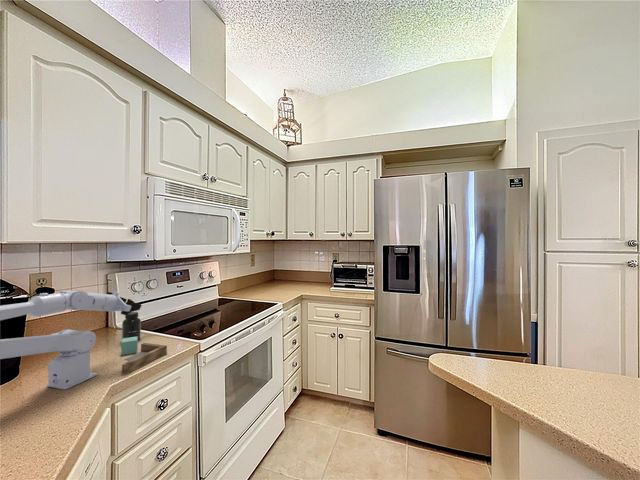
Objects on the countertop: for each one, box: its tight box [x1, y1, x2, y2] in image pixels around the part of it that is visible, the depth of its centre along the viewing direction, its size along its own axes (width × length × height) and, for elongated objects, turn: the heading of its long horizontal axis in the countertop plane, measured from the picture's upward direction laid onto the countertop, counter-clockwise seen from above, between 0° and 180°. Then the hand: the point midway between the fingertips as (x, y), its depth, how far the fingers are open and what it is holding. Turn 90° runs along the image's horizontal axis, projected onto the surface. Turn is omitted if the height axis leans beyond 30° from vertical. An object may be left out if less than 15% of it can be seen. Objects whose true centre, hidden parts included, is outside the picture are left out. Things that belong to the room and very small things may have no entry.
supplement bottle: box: [121, 311, 142, 341], centre depth 124 cm, size 7×7×12 cm
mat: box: [124, 351, 147, 361], centre depth 106 cm, size 7×7×1 cm
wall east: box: [140, 342, 168, 355], centre depth 111 cm, size 2×11×3 cm, turn 75°
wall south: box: [121, 347, 165, 375], centre depth 101 cm, size 16×2×3 cm, turn 165°
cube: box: [120, 336, 139, 356], centre depth 111 cm, size 5×5×5 cm
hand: (132, 304), depth 109 cm, fingers open, 7 cm apart
